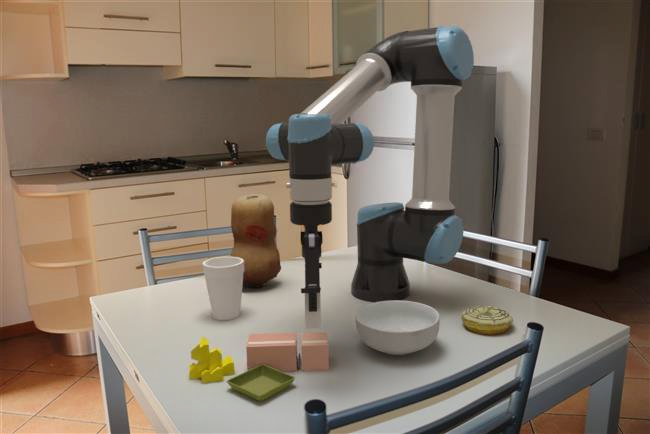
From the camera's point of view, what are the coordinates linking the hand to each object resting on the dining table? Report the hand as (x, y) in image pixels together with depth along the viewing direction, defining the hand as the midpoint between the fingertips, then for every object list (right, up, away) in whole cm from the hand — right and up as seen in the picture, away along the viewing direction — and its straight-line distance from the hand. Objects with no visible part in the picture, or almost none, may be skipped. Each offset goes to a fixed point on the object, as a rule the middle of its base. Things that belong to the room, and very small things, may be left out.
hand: (312, 314), depth 106 cm
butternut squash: (-17, -1, +50) cm, 52 cm away
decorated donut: (+37, -6, +18) cm, 42 cm away
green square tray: (-9, -12, -7) cm, 17 cm away
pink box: (0, -10, +2) cm, 10 cm away
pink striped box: (-8, -10, +2) cm, 13 cm away
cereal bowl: (+17, -8, +9) cm, 21 cm away
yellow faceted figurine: (-18, -11, -1) cm, 22 cm away
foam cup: (-21, -5, +28) cm, 35 cm away
